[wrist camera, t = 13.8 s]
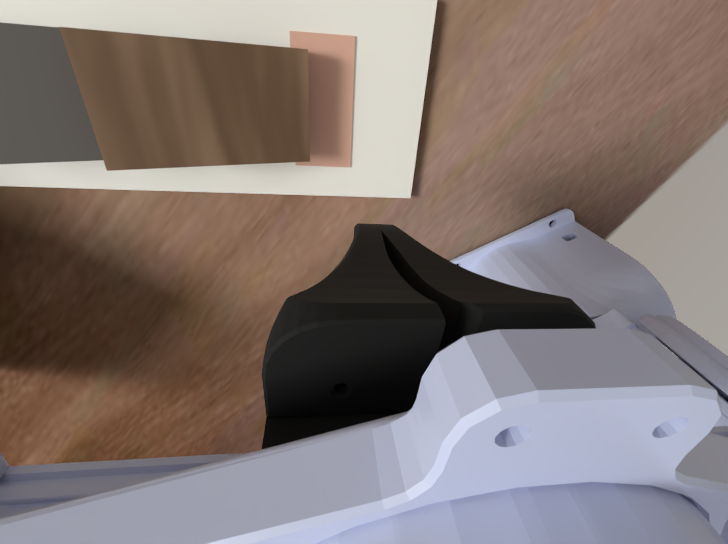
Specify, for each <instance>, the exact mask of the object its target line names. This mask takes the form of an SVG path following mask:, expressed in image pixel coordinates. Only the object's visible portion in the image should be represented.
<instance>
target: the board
mask: <svg viewBox="0 0 728 544" xmlns="http://www.w3.org/2000/svg"><path fill="white" fill-rule="evenodd" d="M436 7H437V0H0V22H1V23H13V24H24V25H36V26H47V27H68V28H79V29H90V30H101V31H112V32H123V33H134V34H145V35H156V36H167V37H178V38H189V39H200V40H211V41H222V42H234V43H245V44H256V45H267V46H278V47H289V48H300V49H308V84H309V131H310V162H288V163H266V164H244V165H222V166H200V167H178V168H156V169H134V170H112V171H107V170H106V167H105V164H104V161H103V160H98V161H73V162H47V163H22V164H0V186H19V187H53V188H86V189H120V190H154V191H187V192H221V193H255V194H288V195H322V196H356V197H389V198H411V191H412V184H413V176H414V169H415V162H416V154H417V147H418V139H419V132H420V125H421V117H422V110H423V103H424V95H425V88H426V80H427V73H428V66H429V58H430V51H431V44H432V36H433V29H434V21H435V14H436Z"/></svg>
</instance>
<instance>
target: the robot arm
mask: <svg viewBox="0 0 728 544" xmlns="http://www.w3.org/2000/svg"><path fill="white" fill-rule="evenodd" d="M552 220H553V222H552V224H550V225H549V223H550V222H551V221H552ZM456 264H459V265H456ZM662 344H663V345H664V346H663V345H662ZM665 346H666V347H667V348H668V349H669V350H670V351H669V350H668V349H667V348H666V347H665ZM671 351H672V352H673V353H674V354H675V355H676V356H678V357H679V358H678V357H676V356H675V355H674V354H673V353H672V352H671ZM262 380H263V389H264V398H265V407H266V415H267V418H266V425H265V431H264V438H263V444H262V450H258V451H254V452H250V453H237V454H219V455H201V456H184V457H166V458H148V459H130V460H113V461H95V462H77V463H59V464H42V465H24V466H8V464H7V462H6V460H5V458H4V457H3V455H2V454H1V453H0V544H728V356H727V355H725V354H724V353H723V352H721V351H720V350H719V349H717V348H716V347H715V346H713V345H712V344H711V343H709V342H708V341H706V340H705V339H704V338H702V337H701V336H700V335H698V334H697V333H695V332H694V331H693V330H691V329H690V328H688V327H687V326H686V325H684V324H683V323H681V322H680V321H678V320H676V315H675V311H674V308H673V306H672V303H671V301H670V299H669V297H668V295H667V293H666V292H665V290H664V289H663V287H662V286H661V285H660V283H659V282H658V281H657V280H656V278H655V277H654V276H653V275H652V274H651V273H650V272H649V271H648V270H647V269H646V268H645V267H644V266H643V265H642V264H640V263H639V262H638V261H636V260H635V259H634V258H632V257H631V256H629V255H628V254H626V253H624V252H623V251H621V250H620V249H618V248H616V247H615V246H613V245H612V244H610V243H609V242H607V241H606V240H604V239H602V238H601V237H599V236H598V235H596V234H595V233H593V232H591V231H590V230H588V229H587V228H585V227H583V226H582V225H580V224H579V223H577V222H576V221H575V218H574V213H573V211H571V210H570V209H563V210H560V211H558V212H556V213H554V214H552V215H549V216H547V217H545V218H543V219H541V220H538V221H536V222H534V223H532V224H530V225H527V226H525V227H523V228H521V229H519V230H516V231H514V232H512V233H510V234H508V235H506V236H503V237H501V238H499V239H497V240H495V241H492V242H490V243H488V244H486V245H484V246H481V247H479V248H477V249H475V250H473V251H470V252H468V253H466V254H464V255H462V256H459V257H457V258H455V259H453V260H451V261H448V260H446V259H444V258H443V257H441V256H439V255H438V254H436V253H434V252H432V251H431V250H429V249H428V248H426V247H425V246H423V245H422V244H420V243H419V242H417V241H416V240H415V239H413V238H412V237H410V236H409V235H408V234H406V233H405V232H403V231H402V230H400V229H399V228H397V227H396V226H394V225H382V224H357V225H356V226H355V228H354V239H353V242H352V244H351V246H350V248H349V250H348V252H347V253H346V255H345V257H344V258H343V260H342V261H341V262H340V264H339V265H338V266H337V267H336V268H335V269H334V270H333V271H332V272H331V273H330V274H329V275H328V276H327V277H326V278H325V279H324V280H322V281H321V282H319V283H318V284H316V285H314V286H313V287H311V288H309V289H307V290H305V291H302V292H300V293H298V294H295V295H293V296H290V297H288V298H287V299H286V301H285V303H284V304H283V306H282V308H281V310H280V312H279V314H278V316H277V318H276V320H275V322H274V325H273V327H272V330H271V332H270V335H269V338H268V341H267V345H266V349H265V354H264V360H263V369H262Z"/></svg>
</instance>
